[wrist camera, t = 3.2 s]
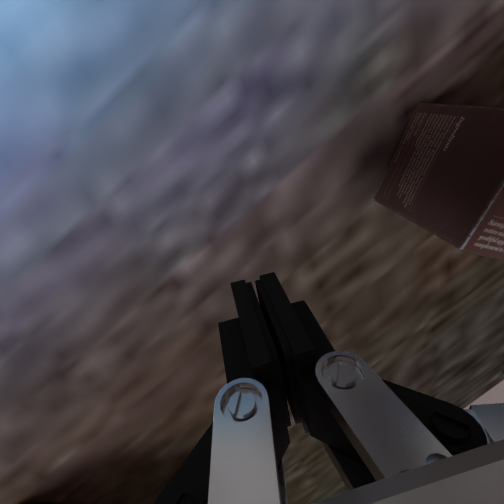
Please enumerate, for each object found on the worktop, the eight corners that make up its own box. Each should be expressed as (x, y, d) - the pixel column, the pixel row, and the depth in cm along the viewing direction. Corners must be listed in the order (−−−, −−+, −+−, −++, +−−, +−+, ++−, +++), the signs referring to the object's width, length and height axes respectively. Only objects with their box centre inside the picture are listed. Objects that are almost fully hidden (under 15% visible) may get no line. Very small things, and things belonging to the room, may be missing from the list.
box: (368, 198, 19) (457, 252, 13) (416, 99, 17) (553, 105, 11) (439, 217, 21) (546, 272, 15) (491, 130, 19) (646, 151, 12)
